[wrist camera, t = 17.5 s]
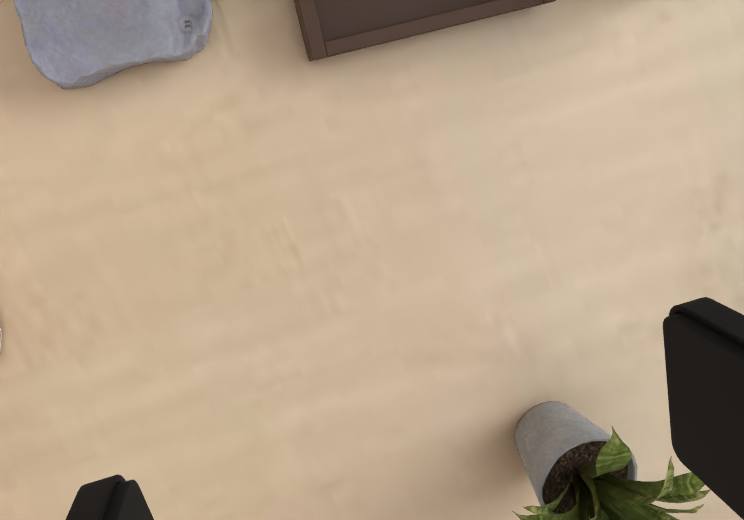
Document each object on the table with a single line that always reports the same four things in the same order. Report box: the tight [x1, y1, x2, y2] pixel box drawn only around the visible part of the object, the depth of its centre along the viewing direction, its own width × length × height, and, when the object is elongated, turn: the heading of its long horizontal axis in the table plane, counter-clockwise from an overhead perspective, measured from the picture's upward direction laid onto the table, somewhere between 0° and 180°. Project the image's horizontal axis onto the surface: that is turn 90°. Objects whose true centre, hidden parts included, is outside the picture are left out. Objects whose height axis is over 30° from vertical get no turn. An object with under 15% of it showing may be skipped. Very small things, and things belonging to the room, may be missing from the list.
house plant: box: [514, 402, 710, 520], centre depth 37 cm, size 14×14×16 cm
